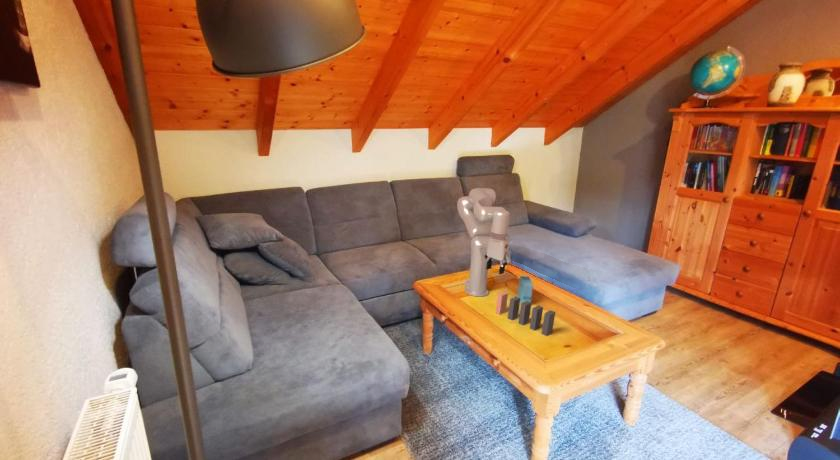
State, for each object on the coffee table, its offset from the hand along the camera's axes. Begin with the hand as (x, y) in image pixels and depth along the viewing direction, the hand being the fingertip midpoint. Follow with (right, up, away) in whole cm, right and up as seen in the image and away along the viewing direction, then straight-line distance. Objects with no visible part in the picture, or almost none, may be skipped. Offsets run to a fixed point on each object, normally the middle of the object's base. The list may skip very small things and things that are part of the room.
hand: (495, 271), depth 195 cm
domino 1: (+3, -20, +1) cm, 21 cm away
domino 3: (+12, -23, -8) cm, 27 cm away
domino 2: (+8, -22, -4) cm, 24 cm away
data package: (+18, -18, +16) cm, 30 cm away
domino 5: (+20, -26, -17) cm, 37 cm away
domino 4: (+16, -25, -12) cm, 32 cm away
